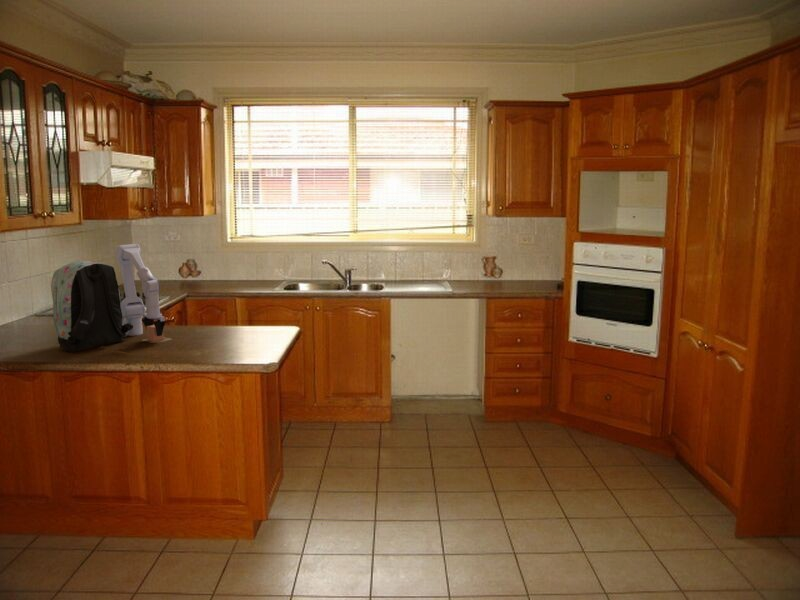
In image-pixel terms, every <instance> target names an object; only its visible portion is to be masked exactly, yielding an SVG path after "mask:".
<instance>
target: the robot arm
mask: <svg viewBox="0 0 800 600" xmlns="http://www.w3.org/2000/svg"><path fill="white" fill-rule="evenodd" d="M114 252H115V257H116V258H115V259H116V262H117V263H118V264H119V265H120V270H121V276H122V277H121V278H122V283H123V288H124V289H123V290H124V294H125V298H124V299H123V300H122V301H120V303H121V312H122V316H123V317H122V325H124V324H127V323H129V324H131V325H133V328H132V329H131V330H129V331H128V332H126V337H127V336H140V335H143V334H144V333H143V332H144V328H143V325H144V327H145V328H146V326H151V325H155V328H156V333H157V336H162V333H163V334H164V328H165V325H166V323H167V320H166V319H165V316H163V314H162V313H161V310H160V309H161V308H160V299H159V298H160V295H159V292H160V291H161V286H162V285H161V283H160V280H159V279H158V278H156V277H155V276H154V275H153V273H152V272H151V270H150V268H148V267H146V266H145V264H144V262H143V261H144V260H143V259H142V257H141V253H142V252H141V246H140V245H139V244H138V243H131V244H130V243H129V244H117V245H116V247H115V250H114ZM132 265H133V266H134V267H135V269H136V270H137V271H136V275H137V277H138V278H139V280H140V282H141V285H142V286H141V289H142V291H143V296H144V298H145V305H144V302H143V299H142V298H140V297H138V295H137V290H136V289H137V288H136V285H135V284H136V283H135V277H134V271H133V267H132Z"/></svg>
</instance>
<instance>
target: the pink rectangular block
mask: <svg viewBox="0 0 800 600" xmlns="http://www.w3.org/2000/svg"><path fill="white" fill-rule="evenodd" d="M145 330H146V339H147V340H148V341H152V342H156V341H160V340H164V337H165V336H164V332H163V333H162V336H157V333H156V328H155V325H154V324H153V325H151V326H146V327H145Z"/></svg>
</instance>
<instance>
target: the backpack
mask: <svg viewBox="0 0 800 600" xmlns="http://www.w3.org/2000/svg"><path fill="white" fill-rule="evenodd" d="M50 289H51V297H52V306H53V307H52V309H53V311H52V313H53V314H52V315H53V317H52V318H53V323H54V328H55V330H56V333H57V342H58V344H59V348H61V349H62V350H64V351H66V352H69V353H73V352H81V351H86V350H89V349H93V348H98V347H102V346H105V345H109V344H115V343H119V342H121V341H123V340H124V338H126V337H127V336H126V332H128V331H129V330H131V329H132V328H133V325H131V324H129V323H127V324H124V325H122V321H123V318H124V317H123V316H122V312H121V293H120V287H119V283H118V279H117V275H116V271H115V269H114V266H112V265H109V264H105V263H103V262H102V263H101V262H94V261H93V262H92V261H90V260H84V259H82V260H81V259H80V260H75V261H71V262H69V263H67V264H65V265H62V266H61V267H59V268H58V269H56V270H55V271H54V272H53V275H52V277H51V283H50Z"/></svg>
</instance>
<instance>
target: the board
mask: <svg viewBox="0 0 800 600" xmlns="http://www.w3.org/2000/svg"><path fill="white" fill-rule="evenodd" d="M171 340H173V338H170V337H165V336H164V340H160V341H156V342H152V341H148V340H147V338H145V339H141V341H142V342H147V343H150V344H157V343H162V342H167V341H171Z"/></svg>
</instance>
